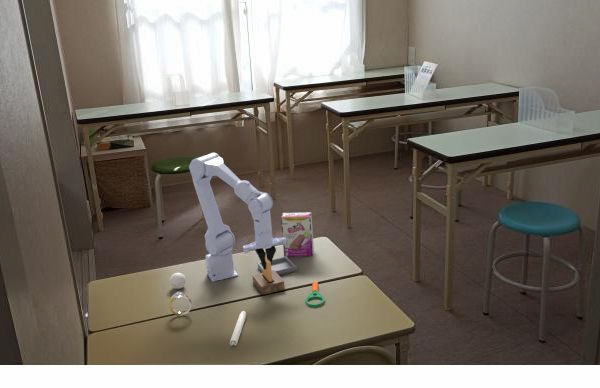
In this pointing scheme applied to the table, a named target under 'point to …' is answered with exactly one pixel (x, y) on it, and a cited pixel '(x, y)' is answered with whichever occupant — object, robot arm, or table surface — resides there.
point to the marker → (238, 328)
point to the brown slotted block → (266, 287)
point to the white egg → (177, 280)
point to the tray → (280, 266)
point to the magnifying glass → (315, 296)
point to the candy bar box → (297, 234)
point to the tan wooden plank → (268, 270)
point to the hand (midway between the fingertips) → (266, 267)
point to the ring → (179, 295)
